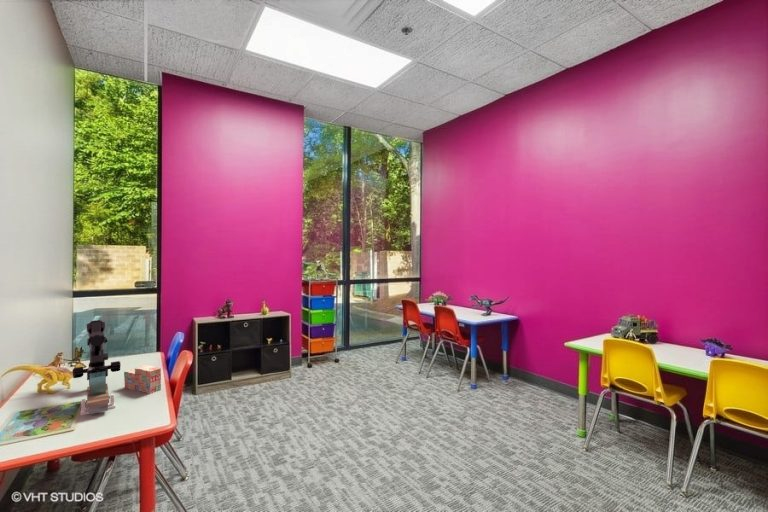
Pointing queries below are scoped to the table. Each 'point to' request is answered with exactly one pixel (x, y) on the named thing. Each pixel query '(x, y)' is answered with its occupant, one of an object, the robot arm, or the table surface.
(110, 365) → the robot arm
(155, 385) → the stack of blocks
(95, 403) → the beam
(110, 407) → the pivot stand
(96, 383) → the grey rectangular block
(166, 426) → the table surface
